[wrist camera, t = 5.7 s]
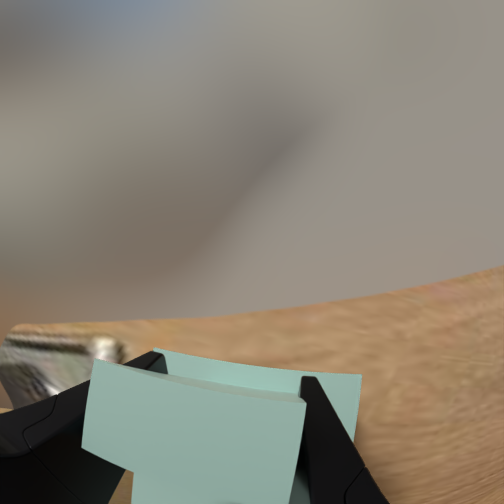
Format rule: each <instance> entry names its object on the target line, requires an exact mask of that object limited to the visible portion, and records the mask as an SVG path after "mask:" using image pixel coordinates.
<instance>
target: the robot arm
mask: <svg viewBox="0 0 504 504" xmlns="http://www.w3.org/2000/svg"><path fill="white" fill-rule="evenodd" d="M123 365H124V366H129V367H133V368H138V369H143V370H147V371H152V372H157V373H163V374H168V369H167V364H166V359H165V356H164V354H162V353H159V352H155V351H150V352H148V353H146V354H143V355H141V356H139V357H137V358H135V359H133V360H131V361H129V362H127V363H125V364H123ZM90 380H91V379H90ZM90 380H88V381H86V382H83V383H81V384H79V385H77V386H74V387H72V388H70V389H68V390H65V391H63V392H61V393H59V394H58V395H57V394H56V395H54V396H51V397H49V398H46V399H44V400H41V401H39V402H36V403H34V404H31V405H28V406H24V407H21V408H18V409H15V410H11V411H8V412H4V413H0V504H108V503H109V501H110V499H111V497H112V496H113V494H114V492H115V490H116V488H117V486H118V484H119V482H120V480H121V478H122V476H123V474H124V473H125V471H126V469H124V468H122V467H120V466H118V465H115V464H113V463H111V462H109V461H107V460H105V459H103V458H101V457H99V456H97V455H95V454H93V453H91V452H89V451H87V450H85V449H83V448H81V447H82V437H83V428H84V419H85V412H86V405H87V398H88V392H89V386H90ZM298 397H299V398H302V399H303V400H304V401H305V402H306V403H307V404H306V411H305V418H304V424H303V430H302V437H301V442H300V448H299V454H298V459H297V464H296V470H295V475H294V479H293V484H292V489H291V494H290V498H289V504H390V503H389V502H388V501H387V499H386V498H385V497H384V495H383V494H382V492H381V491H380V489H379V487H378V486H377V484H376V483H375V481H374V479H373V478H372V476H371V474H370V472H369V470H368V469H367V467H365V463H364V462H363V460H362V458H361V456H360V454H359V453H358V451H357V449H356V447H355V445H354V444H353V442H352V440H351V438H350V436H349V435H348V433H347V431H346V429H345V427H344V426H343V424H342V422H341V420H340V418H339V417H338V415H337V413H336V411H335V409H334V408H333V406H332V404H331V402H330V400H329V399H328V397H327V395H326V393H325V391H324V390H323V388H322V386H321V384H320V382H319V381H318V379H317V377H315V376H302V377H301V380H300V386H299V392H298Z"/></svg>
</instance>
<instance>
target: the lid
mask: <svg viewBox="0 0 504 504" xmlns="http://www.w3.org/2000/svg"><path fill="white" fill-rule="evenodd" d="M153 351H155V352H159V353H162V354H164V356H165V359H166V364H167V369H168V374H163V373H157V372H152V371H147V370H143V369H138V368H133V367H129V366H124V365H120V364H116V363H111V362H107V361H103V360H100V359H96V358H95V359H94V364H93V369H92V375H91V380H90V386H89V392H88V398H87V405H86V412H85V419H84V428H83V437H82V447H81V448H83V449H85V450H87V451H89V452H91V453H93V454H95V455H97V456H99V457H101V458H103V459H105V460H107V461H109V462H111V463H113V464H115V465H118V466H120V467H122V468H124V469H127V470H129V471H132V472H134V477H133V487H132V499H131V504H289V498H290V494H291V489H292V484H293V479H294V475H295V470H296V464H297V459H298V454H299V448H300V442H301V437H302V430H303V424H304V418H305V411H306V404H307V403H306V402H305V401H304V400H303V399H302V398H299V397H298V392H299V386H300V380H301V377H302V376H315V377H317V379H318V381H319V382H320V384H321V386H322V388H323V390H324V391H325V393H326V395H327V397H328V399H329V400H330V402H331V404H332V406H333V408H334V409H335V411H336V413H337V415H338V417H339V418H340V420H341V422H342V424H343V426H344V427H345V429H346V431H347V433H348V435H349V436H350V438H351V440H352V442H353V440H354V434H355V428H356V421H357V414H358V407H359V399H360V390H361V380H362V374H338V373H321V372H307V371H296V370H285V369H276V368H268V367H259V366H252V365H245V364H238V363H231V362H225V361H219V360H213V359H207V358H202V357H197V356H192V355H186V354H182V353H177V352H172V351H168V350H163V349H159V348H154V350H153Z"/></svg>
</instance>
